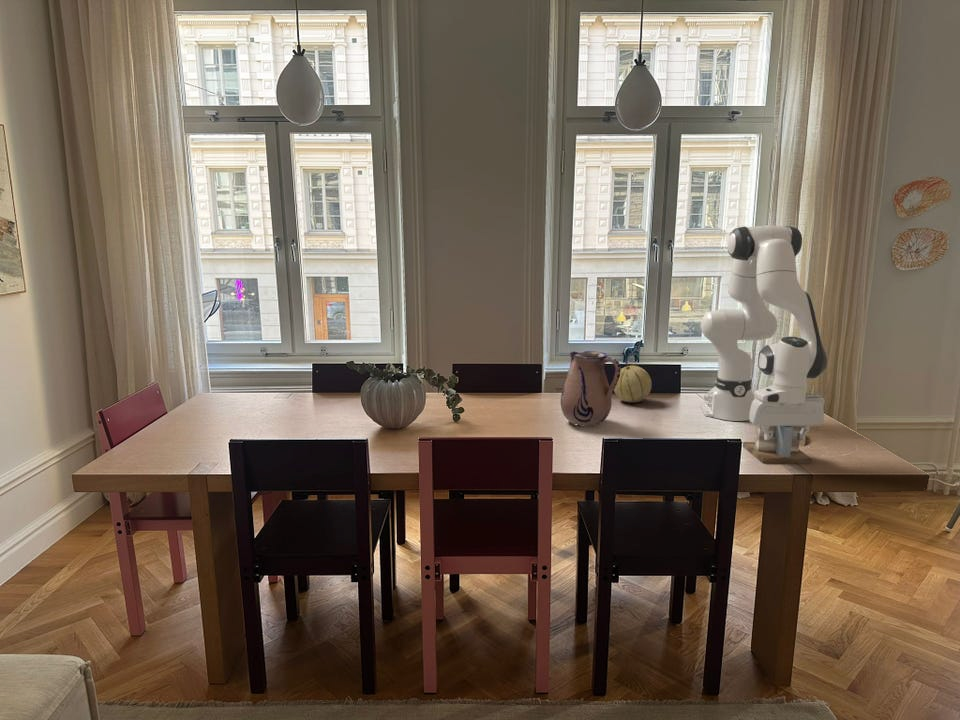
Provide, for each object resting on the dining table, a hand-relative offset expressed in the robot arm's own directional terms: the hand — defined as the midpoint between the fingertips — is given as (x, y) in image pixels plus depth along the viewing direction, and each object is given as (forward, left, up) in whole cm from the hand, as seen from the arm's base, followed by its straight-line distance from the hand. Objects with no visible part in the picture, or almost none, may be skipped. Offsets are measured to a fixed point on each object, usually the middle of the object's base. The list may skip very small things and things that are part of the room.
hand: (783, 439), depth 178 cm
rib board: (-4, 0, -6) cm, 7 cm away
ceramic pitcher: (-34, -51, -6) cm, 62 cm away
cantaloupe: (-63, -30, -6) cm, 70 cm away
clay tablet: (-20, +11, -7) cm, 24 cm away
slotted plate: (-4, 0, -5) cm, 6 cm away
